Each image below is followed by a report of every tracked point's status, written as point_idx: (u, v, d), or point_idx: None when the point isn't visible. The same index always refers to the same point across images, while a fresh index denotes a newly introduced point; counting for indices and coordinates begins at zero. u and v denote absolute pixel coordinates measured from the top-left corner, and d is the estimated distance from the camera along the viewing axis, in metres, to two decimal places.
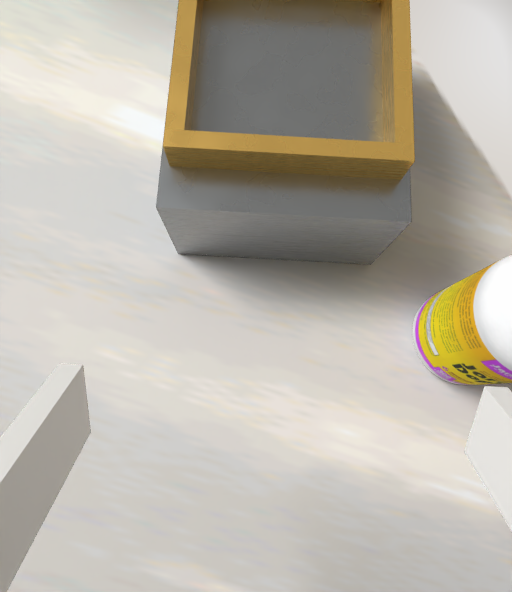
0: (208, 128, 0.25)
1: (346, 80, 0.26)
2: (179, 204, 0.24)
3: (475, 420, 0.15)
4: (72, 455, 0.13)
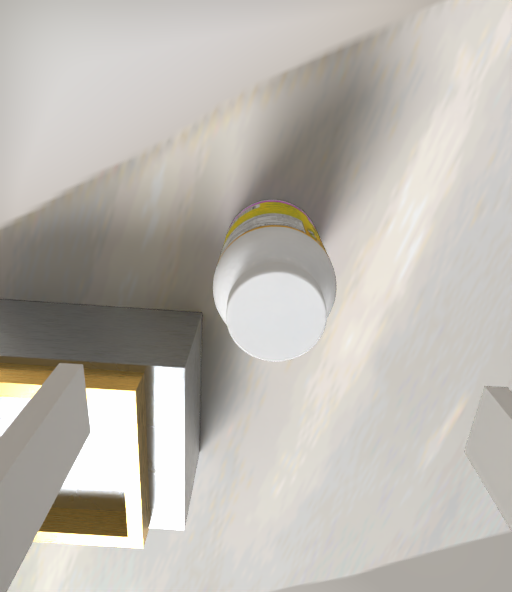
0: (114, 501, 0.31)
1: None
2: (180, 517, 0.32)
3: (475, 420, 0.15)
4: (72, 455, 0.13)
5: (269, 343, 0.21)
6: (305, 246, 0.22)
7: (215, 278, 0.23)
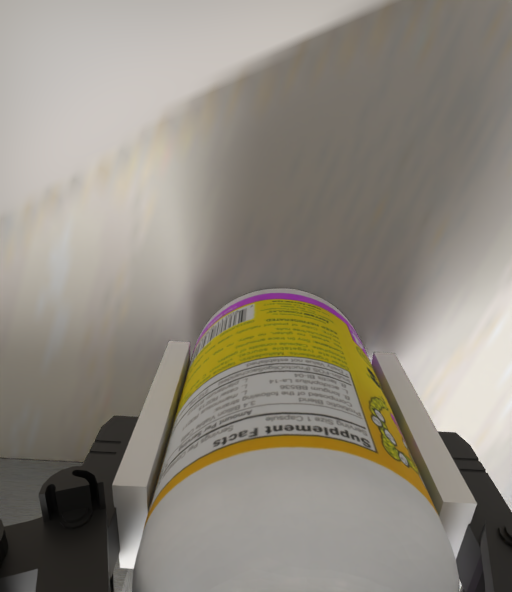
0: None
1: None
2: None
3: None
4: None
5: None
6: (387, 530, 0.07)
7: (134, 585, 0.08)
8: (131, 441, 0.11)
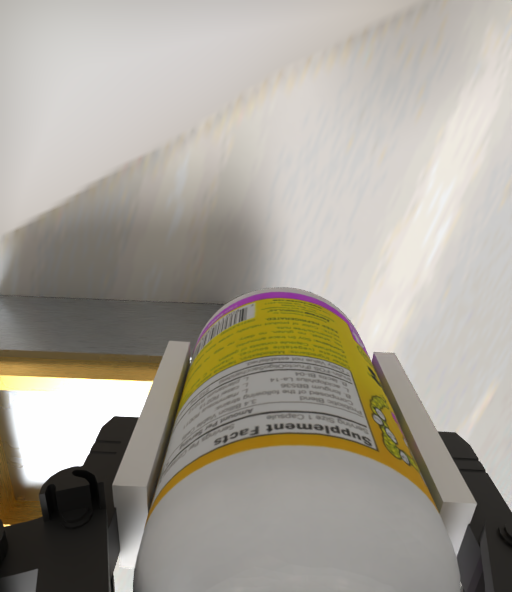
0: None
1: (80, 401, 0.28)
2: None
3: None
4: None
5: None
6: (388, 528, 0.07)
7: (135, 583, 0.08)
8: (131, 441, 0.11)
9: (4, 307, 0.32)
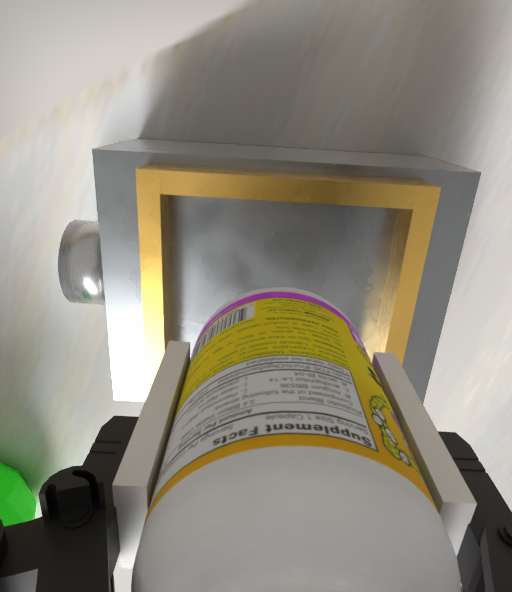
0: None
1: (286, 236, 0.22)
2: None
3: None
4: None
5: None
6: (388, 529, 0.07)
7: (133, 584, 0.08)
8: (131, 441, 0.11)
9: (158, 142, 0.26)
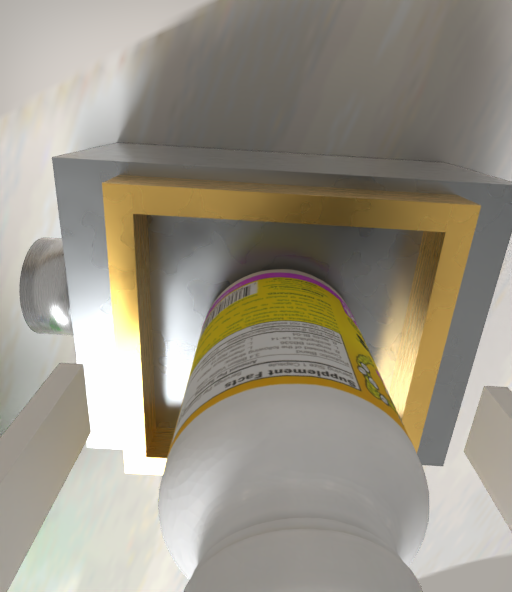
0: None
1: (289, 261, 0.18)
2: (443, 446, 0.22)
3: (474, 420, 0.15)
4: (72, 455, 0.13)
5: None
6: (367, 444, 0.09)
7: (161, 499, 0.10)
8: None
9: (139, 147, 0.22)
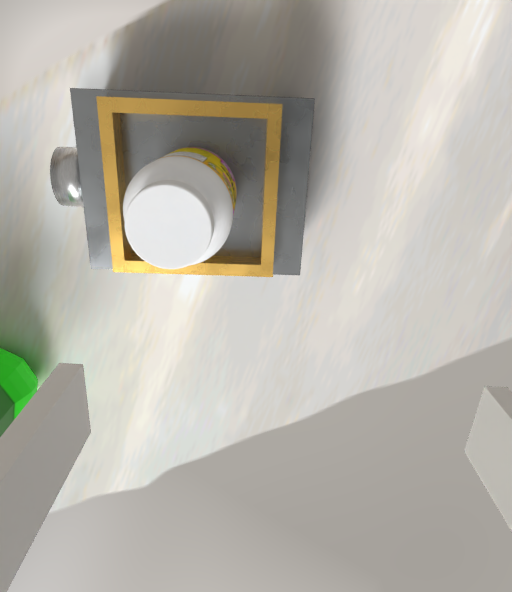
0: (243, 245, 0.37)
1: (197, 144, 0.34)
2: (297, 261, 0.37)
3: (475, 420, 0.15)
4: (72, 455, 0.13)
5: (165, 251, 0.24)
6: (197, 169, 0.25)
7: (123, 204, 0.26)
8: None
9: None
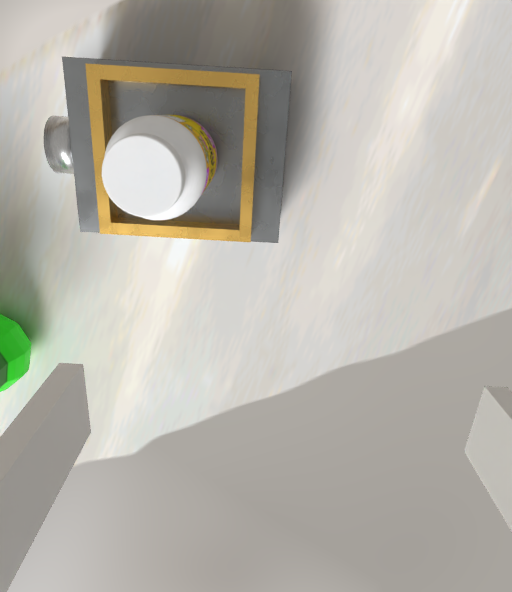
0: (224, 212, 0.39)
1: (181, 113, 0.36)
2: (276, 229, 0.39)
3: (475, 420, 0.15)
4: (72, 455, 0.13)
5: (139, 199, 0.26)
6: (171, 127, 0.27)
7: None
8: None
9: None
